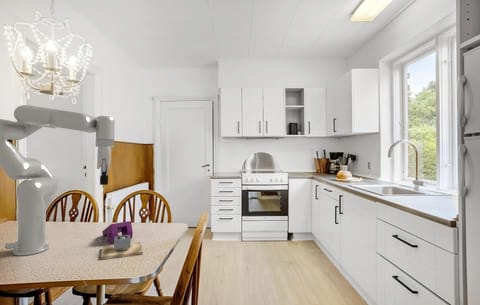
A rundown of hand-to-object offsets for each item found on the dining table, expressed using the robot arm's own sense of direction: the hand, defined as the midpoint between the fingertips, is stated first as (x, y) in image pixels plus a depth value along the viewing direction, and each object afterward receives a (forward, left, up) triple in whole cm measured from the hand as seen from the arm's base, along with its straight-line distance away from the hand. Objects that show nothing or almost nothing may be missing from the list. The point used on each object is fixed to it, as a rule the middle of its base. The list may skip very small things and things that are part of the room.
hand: (104, 184), depth 120 cm
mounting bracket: (+5, +15, -30) cm, 34 cm away
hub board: (+8, -6, -29) cm, 31 cm away
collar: (+8, -6, -27) cm, 29 cm away
